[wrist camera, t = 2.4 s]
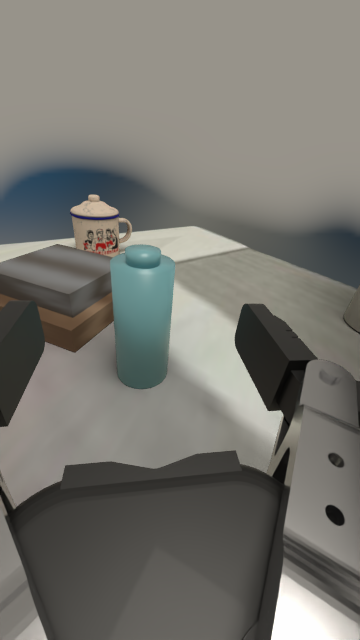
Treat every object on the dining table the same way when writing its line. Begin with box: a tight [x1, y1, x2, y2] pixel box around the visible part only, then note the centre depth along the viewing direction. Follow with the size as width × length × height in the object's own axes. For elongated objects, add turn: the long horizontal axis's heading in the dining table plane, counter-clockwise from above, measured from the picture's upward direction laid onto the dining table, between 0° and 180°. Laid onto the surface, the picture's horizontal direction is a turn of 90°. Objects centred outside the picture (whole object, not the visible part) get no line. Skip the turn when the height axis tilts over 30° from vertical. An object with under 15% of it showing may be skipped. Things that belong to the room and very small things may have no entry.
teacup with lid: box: [70, 195, 132, 257], centre depth 52 cm, size 12×9×12 cm
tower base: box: [0, 244, 114, 352], centre depth 36 cm, size 16×16×6 cm
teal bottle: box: [110, 245, 175, 389], centre depth 24 cm, size 5×5×13 cm
